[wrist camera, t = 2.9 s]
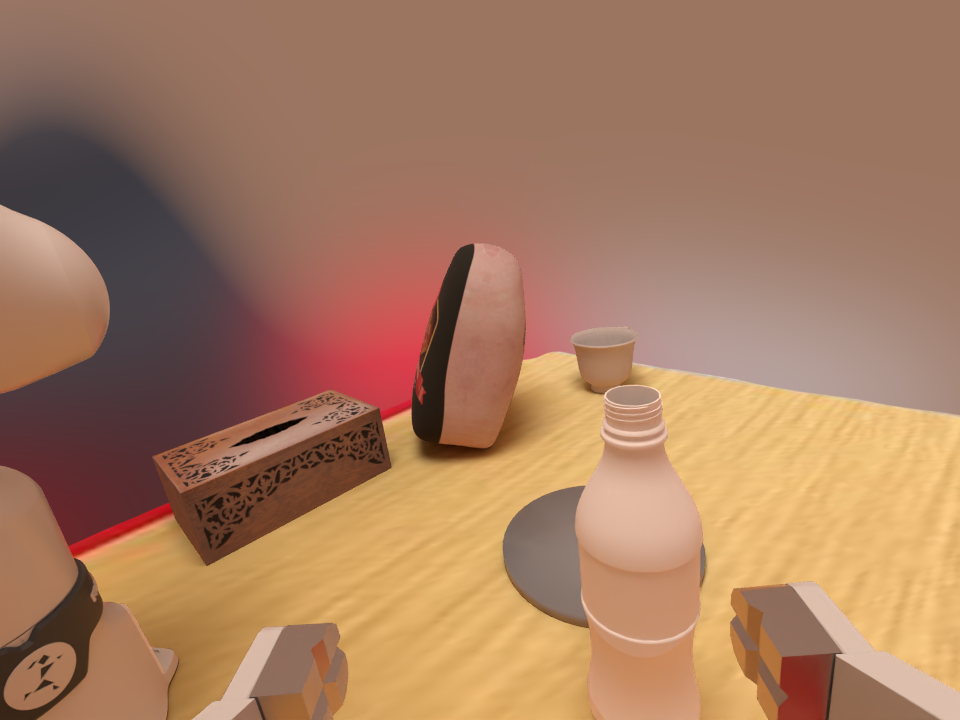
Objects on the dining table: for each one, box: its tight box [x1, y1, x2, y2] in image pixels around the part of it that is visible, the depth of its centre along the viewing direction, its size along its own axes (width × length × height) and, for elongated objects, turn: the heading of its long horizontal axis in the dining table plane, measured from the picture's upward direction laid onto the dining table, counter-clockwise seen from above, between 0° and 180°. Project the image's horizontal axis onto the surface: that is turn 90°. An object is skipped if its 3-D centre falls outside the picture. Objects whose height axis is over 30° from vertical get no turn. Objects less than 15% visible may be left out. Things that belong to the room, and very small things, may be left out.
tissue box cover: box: [153, 390, 391, 566], centre depth 69 cm, size 26×14×10 cm, turn 134°
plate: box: [503, 486, 705, 628], centre depth 51 cm, size 20×20×1 cm
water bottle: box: [575, 385, 703, 720], centre depth 30 cm, size 7×7×25 cm
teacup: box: [570, 326, 638, 393], centre depth 91 cm, size 12×15×10 cm
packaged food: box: [412, 244, 526, 448], centre depth 76 cm, size 22×20×30 cm
